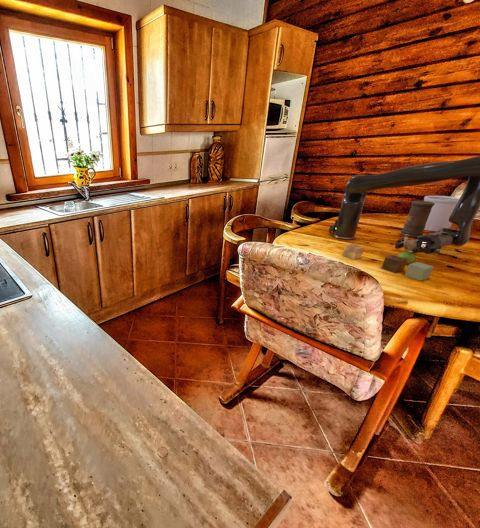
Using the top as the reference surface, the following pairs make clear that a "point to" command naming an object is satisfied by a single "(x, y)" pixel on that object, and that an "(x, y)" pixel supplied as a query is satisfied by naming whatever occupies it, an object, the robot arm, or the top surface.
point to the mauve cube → (353, 251)
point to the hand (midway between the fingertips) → (405, 248)
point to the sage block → (419, 271)
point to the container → (417, 218)
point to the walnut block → (394, 263)
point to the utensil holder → (440, 212)
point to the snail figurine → (408, 250)
